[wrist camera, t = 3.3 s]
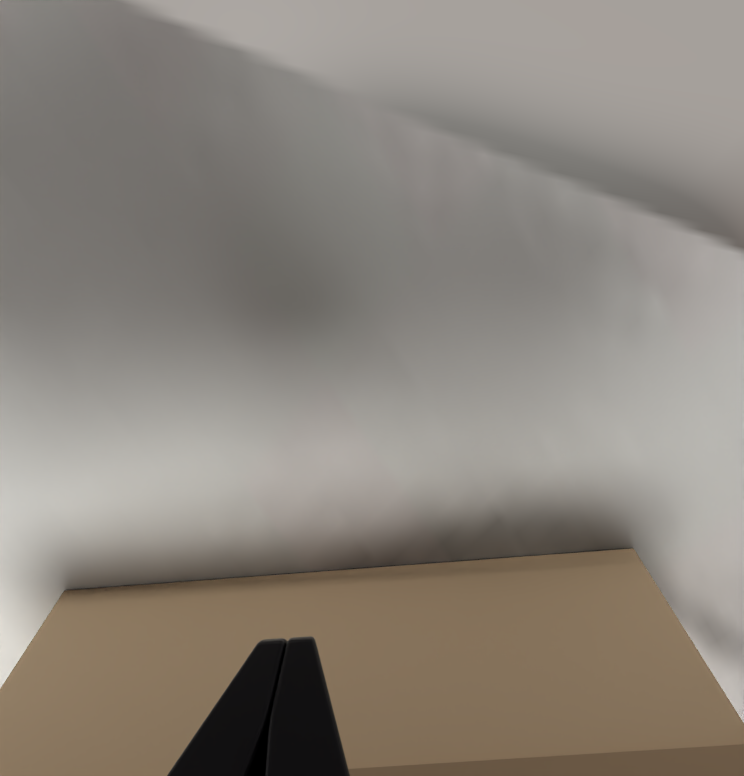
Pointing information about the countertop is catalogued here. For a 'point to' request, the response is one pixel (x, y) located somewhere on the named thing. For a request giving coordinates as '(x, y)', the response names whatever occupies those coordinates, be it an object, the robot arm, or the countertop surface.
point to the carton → (373, 665)
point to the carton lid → (588, 764)
